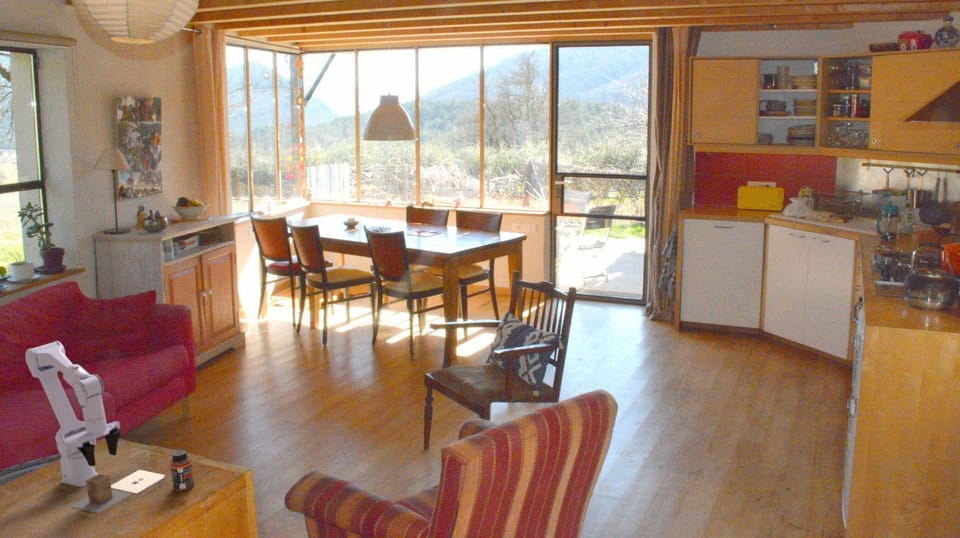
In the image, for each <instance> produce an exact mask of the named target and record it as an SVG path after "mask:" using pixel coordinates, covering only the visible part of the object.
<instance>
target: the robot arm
mask: <svg viewBox="0 0 960 538" xmlns="http://www.w3.org/2000/svg"><path fill="white" fill-rule="evenodd" d="M24 357H25V363H26V366H28V367H27V368H28V369H29V371H30V373H31V376H32V377H33V378H38V379H39V381H40V384H41V387H42V388H43V390H44V392H45V394H46V396H47V399H48V401H49V403H50V405H51V408H52V410H53V413H54V415H55V417H56V419H57V421H58V424H59V425H60V428H59V429H58V431H57V432H56V434H55V442H56V447H57V451H58V452H59V454H60V456H61V458H60V460H59V461H60V462H59V463H60V469H61V475H62V480H61V481H60V482H61V483H62V484H67V485H70V486H76V487H79V488H80V487H81V488H83V487H85V486H87V485H86V480H87V479H89V478H91V477H93V476H95V475H97V474H99V472H96V469H95V468H96V467H95V466H96V458H95V446H96V445H97V439H98V438H100V437H104V439H105V442H106V445H107V450H108V453H109V455H111V456H116V455H117V449H118V443H119V439H120V437H121V434H122V431H121V430H120V429H121V425H120V423H121V422H120V421H112V422H109V423H107V419H106V412H105V407H104V403H103V397H102V394H103V393H104V392H105V385H104V383H103V380H102V378H101V377H100V376H99V375H98V374H90V373H89V372H88V371H87V370H85V368H83V367H82V366H81V365H80V364H76V363H75V364H73V362H71V360H69V358H68V357H67V356H66V350H65V347H64V345H63V344H62V343H61V342H60V341H59V340H55V341H53V342H50V343H47V344H43V345H40V346H37V347H32V348H28V349H26V352H25V356H24ZM58 372H60V373H62V378H63V380H64V381H65V382H67V384H68V385H70V387H71V388H73V389H74V393H75V395H76V398H77V400H78V403H79V405H80V407H81V410H82V415H83V421H81V420H78V418H77V416H76V414H75V411H74V410H73V409H74V408H72V405H71V403H70V401H69V398H68V396H67V394H66V392H65V389H64V388H63V385H62V383H61V381H60V379H59V377H58Z"/></svg>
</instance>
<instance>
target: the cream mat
mask: <svg viewBox="0 0 960 538" xmlns="http://www.w3.org/2000/svg"><path fill="white" fill-rule="evenodd" d="M165 475H166V474H163V473H157V472H153V471H147V470H143V469H138V470H136V471H135V472H133V473H131V474H130V475H127V476H125V477H123V478H121V479H120V480H118V481H117V482H115V483H113V484H111V489H114V490H121V491H123V492H124V491H125V492H130V493H133V494H134V493H135V494H138V493H141V492H142V491H143V490H145V489H147V488H149V487H150V486H152V485H154V484H155V483H157V482H159V481H161V480H162V479H163V478H164V479H165V477H164V476H165Z"/></svg>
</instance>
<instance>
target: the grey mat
mask: <svg viewBox="0 0 960 538" xmlns="http://www.w3.org/2000/svg"><path fill="white" fill-rule="evenodd" d="M111 490H112V495H113V498H112V499H110V500H108V501H107V502H105V503H103V504H101V505H98V504H94V503H90V502H89V496H88V495H87V496H86V497H84V498H82V499H80V500H78V501H76V502H75V503H73V504H71V505H70V506H69V507H70V508H74V509H78V510H83V511H85V512H89V513H93V514H97V515H99V514H100V513H103V512H104V511H106V510H108V509H110V508H111V507H113V506H114V505H116V504H117V503H120V502H121V501H123V500H125V499H126V498H128V497H130V496H132V493H128V492H126V491H125V492H124V491H122V490H121V491H119V490H117V489H113V488H111Z"/></svg>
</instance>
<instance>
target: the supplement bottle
mask: <svg viewBox="0 0 960 538" xmlns="http://www.w3.org/2000/svg"><path fill="white" fill-rule="evenodd" d="M171 455H172V459H171V460H170V463H169V465H170V473H171V480H172V487H173V489H174V491H176V492H188V491H189V490H191V489H192V488H194V486H195V478H194V473H193V466H192V465H193V464H192V460H191V458H190V456H188V454H187V451H186V450H184V449H183V450H182V449H180V450H175V451H173V452H172V454H171Z"/></svg>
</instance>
